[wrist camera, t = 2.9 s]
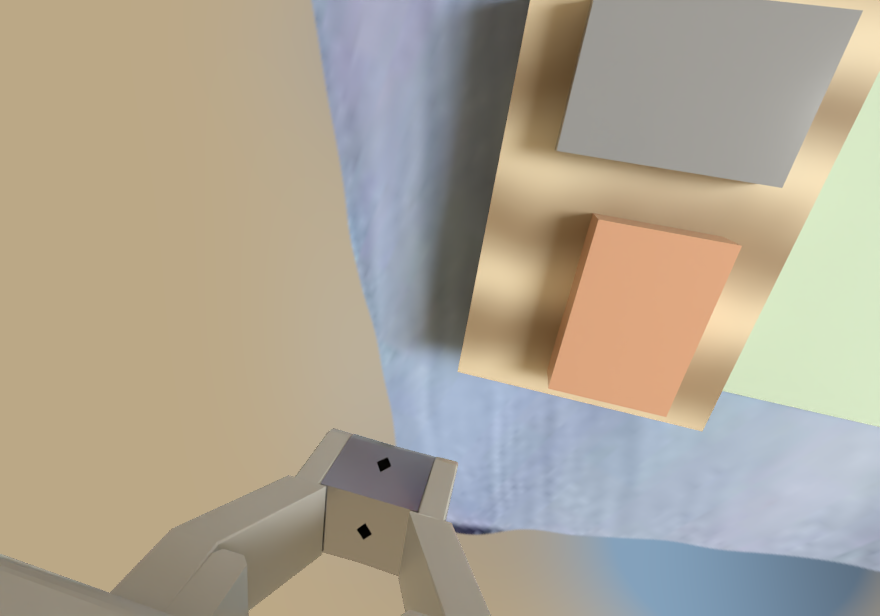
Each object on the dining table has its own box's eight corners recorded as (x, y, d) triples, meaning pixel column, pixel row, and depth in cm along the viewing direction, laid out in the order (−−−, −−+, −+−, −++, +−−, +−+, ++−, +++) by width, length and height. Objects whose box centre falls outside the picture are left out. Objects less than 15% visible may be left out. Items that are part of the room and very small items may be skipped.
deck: (536, -5, 21) (537, -37, 17) (840, 30, 19) (913, 2, 15) (467, 343, 29) (457, 371, 25) (679, 392, 27) (702, 431, 23)
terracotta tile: (592, 212, 20) (598, 219, 19) (722, 236, 20) (742, 245, 18) (547, 370, 24) (548, 388, 22) (655, 395, 23) (666, 417, 21)
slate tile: (554, 150, 20) (556, 150, 18) (590, -1, 17) (597, -19, 16) (757, 183, 19) (782, 188, 17) (826, 25, 16) (863, 10, 14)
